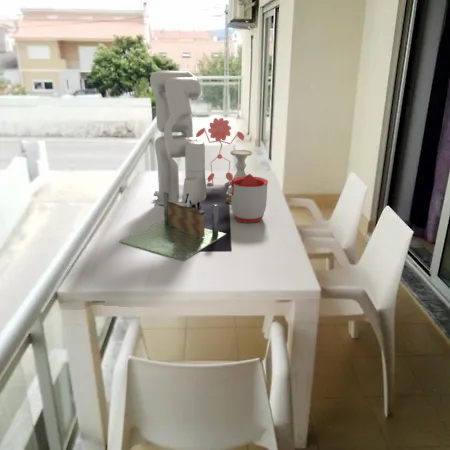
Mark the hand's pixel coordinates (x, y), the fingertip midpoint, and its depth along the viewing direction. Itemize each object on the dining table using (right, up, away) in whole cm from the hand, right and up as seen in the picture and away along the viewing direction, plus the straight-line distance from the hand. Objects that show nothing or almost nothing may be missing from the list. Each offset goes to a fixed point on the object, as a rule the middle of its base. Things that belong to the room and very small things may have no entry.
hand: (195, 218), depth 174 cm
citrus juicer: (+21, 0, +15) cm, 26 cm away
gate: (-4, -5, -1) cm, 6 cm away
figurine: (+9, +22, +71) cm, 75 cm away
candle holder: (+19, +9, +39) cm, 44 cm away
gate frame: (-8, -8, -6) cm, 13 cm away
